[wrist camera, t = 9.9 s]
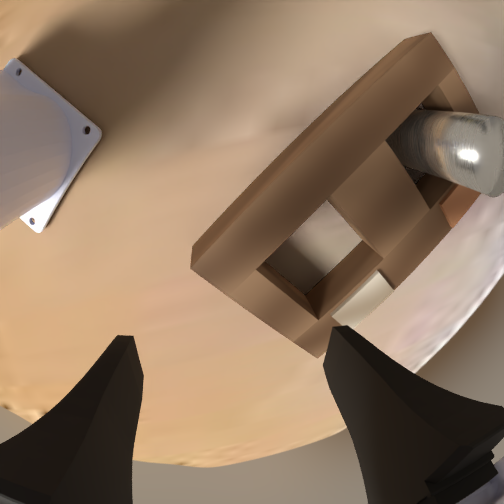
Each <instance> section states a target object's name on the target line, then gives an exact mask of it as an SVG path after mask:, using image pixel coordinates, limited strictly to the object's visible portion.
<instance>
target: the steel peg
mask: <svg viewBox="0 0 504 504" xmlns="http://www.w3.org/2000/svg"><path fill="white" fill-rule="evenodd" d="M385 141H386V142H387V144H388V145H389V146H390V148H391V149H392V151H393V152H394V154H395V155H396V157H397V158H398V159H399V161H400V162H401V164H402V165H403V166H405V167H409V168H412V169H415V170H418V171H422V172H425V173H428V174H431V175H434V176H437V177H440V178H443V179H445V180H448V181H451V182H454V183H457V184H459V185H462V186H465V187H467V188H470V189H473V190H475V191H478V192H480V193H483V194H485V195H488V196H490V197H497V196H499V195H501V194H502V193H504V120H503V119H502V118H500V117H497V116H490V115H482V114H473V113H463V112H451V111H435V110H414V111H413V112H412V113H411V114H410V115H409V116H408V117H407V118H406V119H405V120H404V121H403V122H402V123H401V124H400V125H399V126H398V127H397V128H396V129H395V131H394V132H393V133H392V134H391V135H390V136H389V137H388V138H387V139H386V140H385Z"/></svg>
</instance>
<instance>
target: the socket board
mask: <svg viewBox="0 0 504 504" xmlns="http://www.w3.org/2000/svg"><path fill="white" fill-rule="evenodd" d="M421 103H422V104H423V106H424V107H425V109H426V110H435V111H451V112H463V113H473V114H479V112H478V110H477V108H476V106H475V104H474V102H473V100H472V98H471V96H470V94H469V93H468V91H467V89H466V87H465V85H464V83H463V82H462V80H461V78H460V76H459V75H458V73H457V71H456V70H455V68H454V66H453V65H452V63H451V61H450V60H449V58H448V57H447V55H446V53H445V52H444V50H443V49H442V47H441V46H440V44H439V43H438V41H437V40H436V39H435V37H434V36H433V34H432V33H427V34H423V35H419V36H415V37H411V38H408V39H404V40H403V41H402V42H401V43H400V44H398V45H397V46H396V47H395V48H394V49H393V50H391V51H390V52H389V53H388V54H387V55H386V56H384V57H383V58H382V59H381V60H380V61H379V62H378V63H377V64H375V65H374V66H373V67H372V68H371V69H370V70H369V71H368V72H366V73H365V74H364V75H363V76H362V77H361V78H360V79H359V80H358V81H356V82H355V83H354V84H353V85H352V86H351V87H350V88H349V89H348V90H347V91H346V92H344V93H343V94H342V95H341V96H340V97H339V98H338V99H337V100H336V101H335V102H334V103H333V104H332V105H331V106H329V107H328V108H327V109H326V110H325V111H324V112H323V113H322V114H321V115H320V116H319V117H318V118H317V119H316V120H315V121H314V122H313V123H312V124H311V125H310V126H308V127H307V128H306V129H305V130H304V131H303V132H302V133H301V134H300V135H299V136H298V137H297V138H296V139H295V140H294V141H293V142H292V143H291V144H290V145H289V146H288V147H287V148H286V149H285V150H284V151H283V152H282V153H281V154H280V155H279V156H278V157H277V158H276V159H275V160H274V161H273V162H272V163H271V164H270V165H269V166H268V167H267V168H266V169H265V170H264V171H263V172H262V173H261V174H260V175H259V176H258V177H257V178H256V179H255V180H254V181H253V182H252V183H251V184H250V185H249V186H248V187H247V189H246V190H245V191H244V192H243V193H242V194H241V195H240V196H239V197H238V198H237V199H236V200H235V201H234V202H233V203H232V204H231V205H230V206H229V207H228V208H227V209H226V211H225V212H224V213H223V214H222V215H221V216H220V217H219V218H218V219H217V220H216V221H215V222H214V223H213V224H212V225H211V227H210V228H209V229H208V230H207V231H206V232H205V233H204V234H203V235H202V236H201V237H200V238H199V240H198V241H197V242H196V243H195V244H194V245H193V246H192V256H191V267H190V269H192V270H193V271H194V272H196V273H197V274H198V275H200V276H201V277H202V278H204V279H205V280H206V281H208V282H209V283H211V284H212V285H213V286H215V287H216V288H217V289H219V290H220V291H221V292H223V293H224V294H225V295H227V296H228V297H230V298H231V299H232V300H234V301H235V302H237V303H238V304H239V305H241V306H242V307H243V308H245V309H246V310H248V311H249V312H250V313H252V314H253V315H255V316H256V317H258V318H259V319H260V320H262V321H263V322H265V323H266V324H268V325H269V326H270V327H272V328H273V329H275V330H276V331H278V332H279V333H280V334H282V335H283V336H285V337H286V338H288V339H289V340H291V341H292V342H294V343H295V344H297V345H298V346H300V347H301V348H303V349H304V350H306V351H307V352H309V353H310V354H312V355H313V356H315V357H316V358H319V357H320V356H321V355H322V354H324V353H325V352H326V351H327V348H328V343H329V339H330V335H331V331H332V327H335V326H343V325H348V326H349V327H351V328H352V329H354V328H355V327H356V326H357V325H359V324H360V323H361V322H362V321H363V320H364V319H365V318H366V317H367V316H369V315H370V314H371V313H372V312H373V311H374V310H375V309H376V308H377V307H378V306H379V305H380V304H381V303H382V302H384V301H385V300H386V299H387V298H388V297H389V296H390V295H391V294H392V293H393V292H394V290H395V289H396V288H397V287H398V286H399V285H400V284H401V283H402V282H403V281H404V280H405V279H406V278H407V277H408V276H409V275H410V274H411V273H412V272H413V271H414V270H415V269H416V268H417V267H418V265H419V264H420V263H421V262H422V261H423V260H424V259H425V258H426V257H427V256H428V255H429V254H430V253H431V251H432V250H433V249H434V248H435V247H436V246H437V245H438V244H439V243H440V241H441V240H442V239H443V238H444V237H445V236H446V235H447V233H448V232H449V231H450V230H451V229H452V228H453V227H454V226H455V225H456V224H457V223H458V221H459V220H460V219H461V218H462V217H463V215H464V214H465V213H466V212H467V210H468V209H469V208H470V207H471V205H472V204H473V203H474V202H475V200H476V199H477V198H478V196H479V195H480V194H481V193H480V192H478V191H475V190H473V189H470V188H467V187H465V186H462V185H459V184H457V183H454V182H451V181H448V180H445V179H443V178H440V177H437V176H434V175H431V174H428V173H426V174H425V175H424V176H423V177H422V178H421V179H420V180H419V181H418V182H417V184H416V185H415V184H414V182H413V181H412V179H411V178H410V176H409V175H408V173H407V171H406V170H405V168H404V167H403V165H402V164H401V162H400V161H399V159H398V158H397V157H396V155H395V154H394V152H393V151H392V149H391V148H390V146H389V145H388V144H387V142H386V141H385V140H386V139H387V138H388V137H389V136H390V135H391V134H392V133H393V132H394V131H395V129H396V128H397V127H398V126H399V125H400V124H401V123H402V122H403V121H404V120H405V119H406V118H407V117H408V116H409V115H410V114H411V113H412V112H413V111H414V110H415V109H416V108H417V107H418V106H419V105H420V104H421ZM326 200H328V201H329V202H330V203H331V204H332V206H333V207H334V208H335V209H336V210H337V211H338V212H339V213H340V215H341V216H342V217H343V218H344V219H345V220H346V221H347V222H348V224H349V225H350V226H351V227H352V228H353V229H354V231H355V232H356V233H357V234H358V235H359V236H360V238H361V239H362V241H361V242H360V243H359V244H358V245H357V246H356V247H355V248H354V249H353V250H352V251H351V252H350V253H349V254H348V255H347V256H346V257H345V258H344V259H343V260H342V261H341V262H340V263H339V264H338V265H337V266H336V267H335V268H334V269H333V270H332V271H331V272H330V273H329V274H327V275H326V276H325V277H324V278H323V279H322V280H321V281H320V282H319V283H318V284H317V285H316V286H315V287H314V288H313V289H312V290H310V291H309V292H308V293H307V294H306V295H304V294H303V293H302V292H301V291H299V290H298V289H297V288H296V287H295V286H293V285H292V284H291V283H290V282H289V281H288V280H286V279H285V278H284V277H283V276H282V275H280V274H279V273H278V272H277V271H276V270H275V269H273V268H272V267H271V266H270V265H269V264H267V263H266V262H265V260H266V259H267V258H268V257H269V256H270V255H271V254H272V253H273V252H274V251H275V250H276V249H277V248H278V247H279V246H280V245H281V244H282V243H283V242H284V241H285V240H286V239H287V238H288V237H289V236H290V235H291V234H292V233H293V232H294V231H295V230H296V229H297V228H298V227H299V226H300V225H301V224H302V223H303V222H305V221H306V220H307V219H308V218H309V217H310V216H311V215H312V214H313V213H314V212H315V211H316V210H317V209H318V208H319V207H320V206H321V205H322V204H323V203H324V202H325V201H326Z"/></svg>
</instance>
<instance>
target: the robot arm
mask: <svg viewBox="0 0 504 504" xmlns="http://www.w3.org/2000/svg"><path fill="white" fill-rule="evenodd" d="M21 69H22V72H21V74H20V75H19V72H20V70H21ZM87 126H89V127H90V133H89V134H86V133H85V128H86V127H87ZM101 137H102V131H101V129H100V128H99V127H98V126H96V125H95V124H94V123H93V122H92V121H90V120H89V119H88V118H87V117H86V116H85V115H83V114H82V113H81V112H80V111H79V110H77V109H76V108H75V107H74V106H73V105H72V104H70V103H69V102H68V101H67V100H66V99H64V98H63V97H62V96H61V95H60V94H58V93H57V92H56V91H55V90H54V89H53V88H51V87H50V86H49V85H48V84H47V83H45V82H44V81H43V80H42V79H41V78H40V77H38V76H37V75H36V74H35V73H34V72H32V71H31V70H30V69H29V68H28V67H27V66H25V65H24V64H23V63H22V62H21V61H19V60H18V59H15V58H13V59H11V60H10V61H9V62H8V63H7V65H6V66H5V68H4V70H0V230H2V229H3V228H4V227H6V226H7V225H9V224H10V223H12V222H13V221H15V220H16V219H18V218H19V217H20V218H21V219H22V220H23V221H24V222H25V223H26V224H27V225H28V226H29V227H31V228H32V229H33V230H34V231H35V232H37V233H40V232H42V231H43V230H44V229H45V227H46V225H47V224H48V222H49V220H50V218H51V216H52V214H53V213H54V211H55V209H56V207H57V206H58V204H59V202H60V200H61V199H62V197H63V195H64V194H65V192H66V190H67V189H68V187H69V185H70V184H71V182H72V181H73V179H74V177H75V176H76V174H77V173H78V171H79V170H80V168H81V167H82V165H83V164H84V162H85V161H86V159H87V158H88V156H89V155H90V153H91V152H92V151H93V149H94V148H95V146H96V145H97V144H98V142H99V141H100V139H101ZM32 218H34V219H35V223H34V222H33V221H32ZM323 368H324V371H325V375H326V378H327V382H328V385H329V388H330V390H331V393H332V395H333V397H334V399H335V402H336V404H337V406H338V408H339V410H340V413H341V415H342V417H343V419H344V421H345V424H346V426H347V428H348V430H349V432H350V435H351V438H352V440H353V443H354V447H355V450H356V453H357V456H358V459H359V463H360V467H361V471H362V475H363V479H364V484H365V489H366V493H367V499H368V504H504V457H503V458H501V459H500V460H499V461H498V462H496V463H495V464H494V465H493V463H492V461H491V460H492V459H493V458H494V454H493V453H492V451H491V450H492V449H493V448H494V447H495V446H496V445H497V444H498V443H499V442H500V441H501V440H502V439H503V437H504V408H503V407H502V406H498V405H493V404H488V403H483V402H479V401H476V400H472V399H469V398H466V397H463V396H460V395H457V394H454V393H452V392H450V391H448V390H445V389H443V388H441V387H438V386H436V385H434V384H432V383H430V382H428V381H426V380H425V379H423V378H421V377H419V376H417V375H416V374H414V373H412V372H411V371H409V370H408V369H406V368H405V367H403V366H402V365H400V364H399V363H397V362H396V361H394V360H393V359H391V358H390V357H389V356H387V355H386V354H385V353H383V352H382V351H381V350H379V349H378V348H377V347H375V346H374V345H373V344H371V343H370V342H369V341H368V340H366V339H365V338H364V337H362V336H361V335H360V334H359V333H357V332H356V331H355V330H353V329H352V328H351V327H349V326H348V325H343V326H335V327H332V331H331V335H330V339H329V343H328V348H327V352H326V355H325V359H324V363H323ZM143 378H144V375H143V371H142V367H141V364H140V360H139V356H138V352H137V348H136V344H135V340H134V336H123V335H117V336H116V337H115V339H114V340H113V341H112V342H111V344H110V345H109V346H108V347H107V349H106V350H105V351H104V352H103V354H102V355H101V356H100V357H99V359H98V360H97V361H96V362H95V364H94V365H93V366H92V367H91V368H90V370H89V371H88V372H87V373H86V374H85V376H84V377H83V378H82V379H81V380H80V381H79V382H78V383H77V384H76V386H75V387H74V388H73V389H72V390H71V391H70V392H69V393H68V394H67V395H66V396H65V397H64V398H63V399H62V400H61V401H60V402H59V403H58V404H57V405H56V406H55V407H53V408H52V409H51V410H50V411H49V412H48V413H46V414H45V415H44V416H42V417H41V418H40V419H39V420H37V421H36V422H35V423H33V424H32V425H31V426H29V427H28V428H26V429H25V430H24V431H22V432H20V433H19V434H17V435H16V436H14V437H12V438H11V439H9V440H7V441H5V442H3V443H1V444H0V504H133V501H132V457H133V448H134V442H135V436H136V430H137V424H138V419H139V413H140V408H141V402H142V393H143Z"/></svg>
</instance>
